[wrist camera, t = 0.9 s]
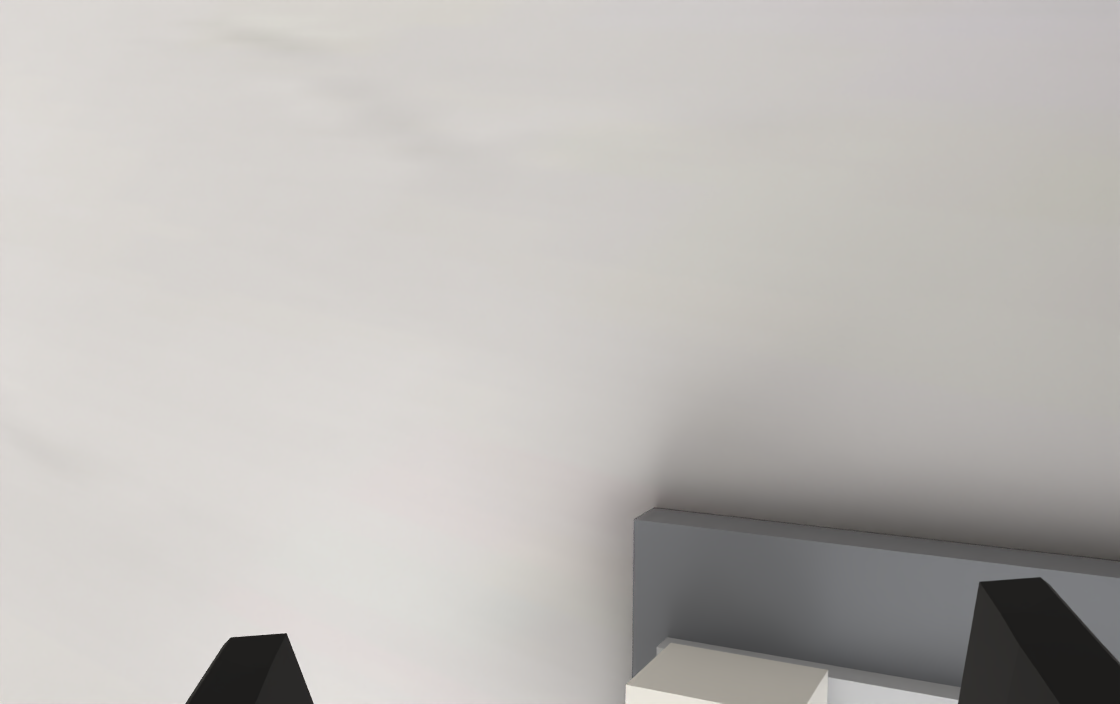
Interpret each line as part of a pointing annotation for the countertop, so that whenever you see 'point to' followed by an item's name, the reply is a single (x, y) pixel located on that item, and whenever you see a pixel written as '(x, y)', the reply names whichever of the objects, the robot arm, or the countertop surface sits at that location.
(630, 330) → the countertop surface
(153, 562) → the countertop surface
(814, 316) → the countertop surface
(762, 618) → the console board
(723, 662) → the fader tab
